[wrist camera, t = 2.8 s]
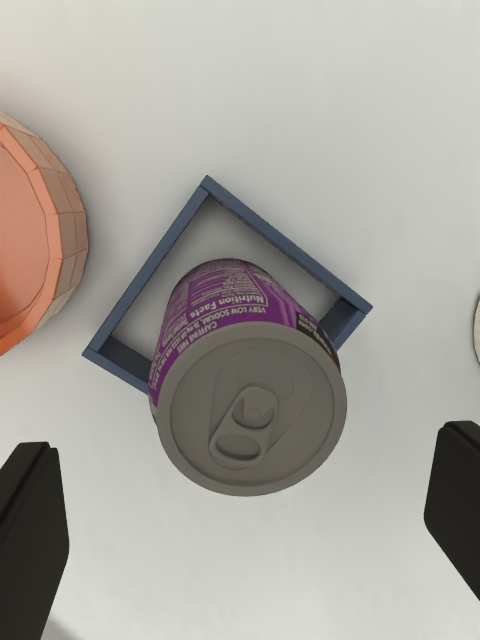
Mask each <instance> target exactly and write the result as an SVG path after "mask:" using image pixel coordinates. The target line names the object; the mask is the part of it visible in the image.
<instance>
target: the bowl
mask: <svg viewBox="0 0 480 640" xmlns="http://www.w3.org/2000/svg"><path fill="white" fill-rule="evenodd" d="M88 247H89V246H88V234H87V223H86V213H85V209H84V206H83V204H82V201H81V199H80V196H79V194H78V192H77V189H76V187H75V184H74V182H73V179H72V177H71V175H70V174H69V172H68V171H67V169H66V168H65V167H64V166H63V164H62V163H61V162H60V160H59V159H58V158H57V157H56V155H55V154H54V153H53V152H52V150H51V149H50V148H49V147H48V145H47V144H46V143H45V142H44V141H43V140H42V139H41V138H40V137H38V136H37V135H35V134H34V133H33V132H31V131H30V130H29V129H27V128H26V127H24V126H23V125H22V124H20V123H19V122H18V121H16V120H15V119H13V118H12V117H11V116H9V115H7V114H6V113H3V112H1V111H0V356H2V355H3V354H5V353H6V352H7V351H9V350H10V349H11V348H13V347H14V346H15V345H17V344H18V343H20V342H21V341H22V340H24V339H25V338H26V337H28V336H29V335H30V334H32V333H33V332H34V331H35V330H37V329H38V328H39V327H40V326H42V325H43V324H44V323H45V322H47V321H48V320H49V319H50V318H52V317H53V316H54V315H56V314H57V313H58V312H59V311H61V309H62V308H63V307H64V306H65V304H66V303H67V301H68V300H69V298H70V297H71V295H72V294H73V292H74V291H75V289H76V288H77V286H78V285H79V283H80V281H81V278H82V274H83V270H84V266H85V262H86V258H87V254H88Z"/></svg>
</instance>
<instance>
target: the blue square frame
mask: <svg viewBox="0 0 480 640" xmlns="http://www.w3.org/2000/svg"><path fill="white" fill-rule="evenodd" d="M208 195H210V196H211V197H212V198H214V199H215V200H216V201H217V202H219V203H220V204H221V205H223V206H224V207H225V208H226V209H228V210H229V211H230V212H232V213H233V214H234V215H235V216H237V217H238V218H239V219H241V220H242V221H243V222H244V223H246V224H247V225H248V226H249V227H251V228H252V229H253V230H255V231H256V232H257V233H258V234H260V235H261V236H262V237H264V238H265V239H266V240H267V241H269V242H270V243H271V244H273V245H274V246H275V247H276V248H278V249H279V250H280V251H282V252H283V253H284V254H285V255H287V256H288V257H289V258H291V259H292V260H293V261H294V262H296V263H297V264H298V265H300V266H301V267H302V268H303V269H305V270H306V271H307V272H309V273H310V274H311V275H312V276H314V277H315V278H316V279H318V280H319V281H320V282H321V283H323V284H324V285H325V286H327V287H328V288H329V289H330V290H332V291H333V292H334V293H336V294H337V295H338V296H339V297H341V298H340V299H339V300H338V301H337V303H336V304H335V305H334V306H333V307H332V309H331V310H330V311H329V312H328V314H327V315H326V316H325V317H324V319H323V320H322V321H321V322H320V324H319V325H320V326H321V327H322V328H323V330H324V331H325V332H326V334H327V335H328V337H329V338H330V340H331V342H332V344H333V346H334V348H335V350H336V352H337V350H338V349H339V348H340V347H341V346H342V344H343V343H344V342H345V341H346V340H347V338H348V337H349V336H350V335H351V334H352V332H353V331H354V330H355V329H356V327H357V326H358V325H359V324H360V323H361V321H362V320H363V319H364V318H365V317H366V315H367V314H368V313H369V312H370V311H371V309H372V308H373V306H372V305H371V304H370V303H368V302H367V301H366V300H365V299H363V298H362V297H361V296H359V295H358V294H357V293H356V292H354V291H353V290H352V289H351V288H349V287H348V286H347V285H346V284H344V283H343V282H342V281H341V280H339V279H338V278H337V277H336V276H334V275H333V274H332V273H330V272H329V271H328V270H327V269H325V268H324V267H323V266H322V265H320V264H319V263H318V262H317V261H315V260H314V259H313V258H312V257H310V256H309V255H308V254H307V253H305V252H304V251H303V250H301V249H300V248H299V247H298V246H296V245H295V244H294V243H293V242H291V241H290V240H289V239H288V238H286V237H285V236H284V235H283V234H281V233H280V232H279V231H278V230H276V229H275V228H274V227H272V226H271V225H270V224H269V223H267V222H266V221H265V220H264V219H262V218H261V217H260V216H259V215H257V214H256V213H255V212H254V211H252V210H251V209H250V208H248V207H247V206H246V205H245V204H243V203H242V202H241V201H240V200H238V199H237V198H236V197H235V196H233V195H232V194H231V193H230V192H228V191H227V190H226V189H225V188H223V187H222V186H221V185H219V184H218V183H217V182H216V181H214V180H213V179H212V178H211V177H209V176H208V175H206V176H205V178H204V179H203V181H202V182H201V184H200V186H198V188H197V189H196V191H195V192H194V194H193V195H192V196H191V198H190V199H189V201H188V202H187V204H186V205H185V207H184V208H183V209H182V211H181V212H180V214H179V215H178V217H177V218H176V219H175V221H174V222H173V224H172V225H171V227H170V228H169V230H168V231H167V232H166V234H165V235H164V237H163V238H162V240H161V241H160V242H159V244H158V245H157V247H156V248H155V250H154V251H153V253H152V254H151V255H150V257H149V258H148V260H147V261H146V263H145V264H144V265H143V267H142V268H141V270H140V271H139V273H138V274H137V276H136V277H135V278H134V280H133V281H132V283H131V284H130V286H129V287H128V288H127V290H126V291H125V293H124V294H123V296H122V297H121V298H120V300H119V301H118V303H117V304H116V306H115V307H114V309H113V310H112V311H111V313H110V314H109V316H108V317H107V319H106V320H105V321H104V323H103V324H102V326H101V327H100V329H99V330H98V332H97V333H96V334H95V336H94V337H93V339H92V340H91V342H90V343H89V344H88V346H87V347H86V349H85V350H84V352H83V353H82V356H84V357H85V358H87V359H89V360H90V361H92V362H94V363H95V364H97V365H99V366H100V367H102V368H104V369H105V370H107V371H109V372H110V373H112V374H114V375H115V376H117V377H119V378H120V379H122V380H124V381H125V382H127V383H129V384H130V385H132V386H134V387H135V388H137V389H139V390H140V391H142V392H144V393H145V394H147V395H148V384H149V376H150V370H151V366H152V362H151V361H149V360H148V359H146V358H144V357H143V356H141V355H140V354H138V353H136V352H135V351H133V350H132V349H130V348H128V347H127V346H125V345H124V344H122V343H120V342H119V341H117V340H115V339H114V338H112V337H111V336H109V335H110V334H111V332H112V331H113V330H114V328H115V327H116V325H117V324H118V322H119V321H120V320H121V318H122V317H123V315H124V314H125V313H126V311H127V310H128V308H129V307H130V305H131V304H132V303H133V301H134V300H135V298H136V297H137V295H138V294H139V293H140V291H141V290H142V288H143V287H144V286H145V284H146V283H147V281H148V280H149V278H150V277H151V276H152V274H153V273H154V271H155V270H156V268H157V267H158V266H159V264H160V263H161V261H162V260H163V259H164V257H165V256H166V254H167V253H168V251H169V250H170V249H171V247H172V246H173V244H174V243H175V241H176V240H177V239H178V237H179V236H180V234H181V233H182V232H183V230H184V229H185V227H186V226H187V224H188V223H189V222H190V220H191V219H192V217H193V216H194V214H195V213H196V212H197V210H198V209H199V207H200V206H201V205H202V203H203V202H204V200H205V199H206V197H207V196H208Z"/></svg>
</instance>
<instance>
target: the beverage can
mask: <svg viewBox="0 0 480 640" xmlns="http://www.w3.org/2000/svg"><path fill="white" fill-rule="evenodd" d="M148 395H149V404H150V409H151V412H152V416H153V418H154V421H155V423H156V425H157V428H158V433H159V437H160V440H161V443H162V446H163V448H164V450H165V452H166V454H167V455H168V457H169V459H170V460H171V461H172V463H173V464H174V465H175V466H176V468H177V469H178V470H179V471H180V472H181V473H182V474H184V475H185V476H186V477H187V478H189V479H190V480H191V481H193V482H195V483H196V484H198V485H200V486H202V487H204V488H206V489H208V490H211V491H214V492H217V493H221V494H225V495H231V496H260V495H266V494H270V493H274V492H277V491H281V490H283V489H286V488H288V487H290V486H293V485H294V484H296V483H298V482H300V481H302V480H303V479H305V478H306V477H308V476H309V475H310V474H312V473H313V472H314V471H315V470H316V469H317V468H318V467H320V466H321V465H322V463H323V462H324V461H325V460H326V459H327V458H328V456H329V455H330V454H331V452H332V451H333V449H334V448H335V446H336V444H337V442H338V440H339V438H340V436H341V433H342V431H343V427H344V424H345V419H346V412H347V397H346V390H345V385H344V382H343V379H342V377H341V369H340V363H339V359H338V356H337V353H336V350H335V348H334V346H333V344H332V342H331V340H330V338H329V337H328V335H327V334H326V332H325V331H324V330H323V328H322V327H321V326H320V325H319V324H318V322H317V321H316V320H315V319H314V318H313V317H312V316H311V315H310V314H309V313H308V312H307V311H306V310H305V309H304V308H303V307H302V306H301V305H299V304H298V303H297V302H296V301H295V300H294V299H293V298H292V297H291V296H290V295H289V294H288V293H287V292H286V291H285V290H284V289H283V288H282V287H281V286H280V285H279V284H278V283H277V282H276V281H275V280H274V279H273V278H272V277H271V276H270V275H269V274H268V273H267V272H266V271H264V270H263V269H262V268H260V267H258V266H256V265H254V264H252V263H250V262H247V261H243V260H239V259H217V260H212V261H209V262H206V263H203V264H201V265H199V266H197V267H196V268H194V269H193V270H191V271H190V272H188V273H187V274H186V275H185V276H184V277H183V278H182V279H181V280H180V281H179V283H178V284H177V285H176V287H175V288H174V290H173V292H172V294H171V296H170V299H169V302H168V306H167V309H166V313H165V317H164V321H163V324H162V328H161V332H160V335H159V339H158V343H157V347H156V350H155V354H154V358H153V362H152V366H151V370H150V376H149V384H148Z"/></svg>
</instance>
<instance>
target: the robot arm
mask: <svg viewBox="0 0 480 640" xmlns="http://www.w3.org/2000/svg"><path fill="white" fill-rule="evenodd" d="M474 342H475V350H476V353H477V357H478V360H479V363H480V300H479V304H478V307H477V311H476V314H475V323H474ZM424 522H425V525H426V527H427V529H428V531H429V532H430V534H431V535H432V536H433V538H434V539H435V541H436V542H437V543H438V545H439V546H440V547H441V549H442V550H443V552H444V553H445V554H446V556H447V557H448V558H449V560H450V561H451V562H452V564H453V565H454V567H455V568H456V569H457V571H458V572H459V573H460V575H461V576H462V578H463V579H464V580H465V582H466V583H467V584H468V586H469V587H470V588H471V590H472V591H473V593H474V594H475V595H476V597H477V598H478V599H479V601H480V426H478V425H477V424H476V423H474V422H472V421H449V422H447V423H445V425H444V426H443V428H440V430H439V431H438V435H437V441H436V447H435V452H434V458H433V464H432V469H431V475H430V481H429V487H428V492H427V498H426V504H425V509H424ZM68 554H69V535H68V527H67V519H66V511H65V503H64V494H63V486H62V478H61V470H60V462H59V454H58V450H57V448H50V445H49V443H48V442H27V443H19V444H18V445H17V447H16V448H15V449H14V451H13V452H12V454H11V455H10V456H9V458H8V459H7V461H6V462H5V464H4V465H3V466H2V468H1V469H0V640H40V639H41V636H42V633H43V630H44V627H45V624H46V621H47V618H48V616H49V613H50V610H51V607H52V604H53V601H54V598H55V595H56V592H57V589H58V586H59V583H60V580H61V577H62V574H63V571H64V568H65V566H66V563H67V559H68Z"/></svg>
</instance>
